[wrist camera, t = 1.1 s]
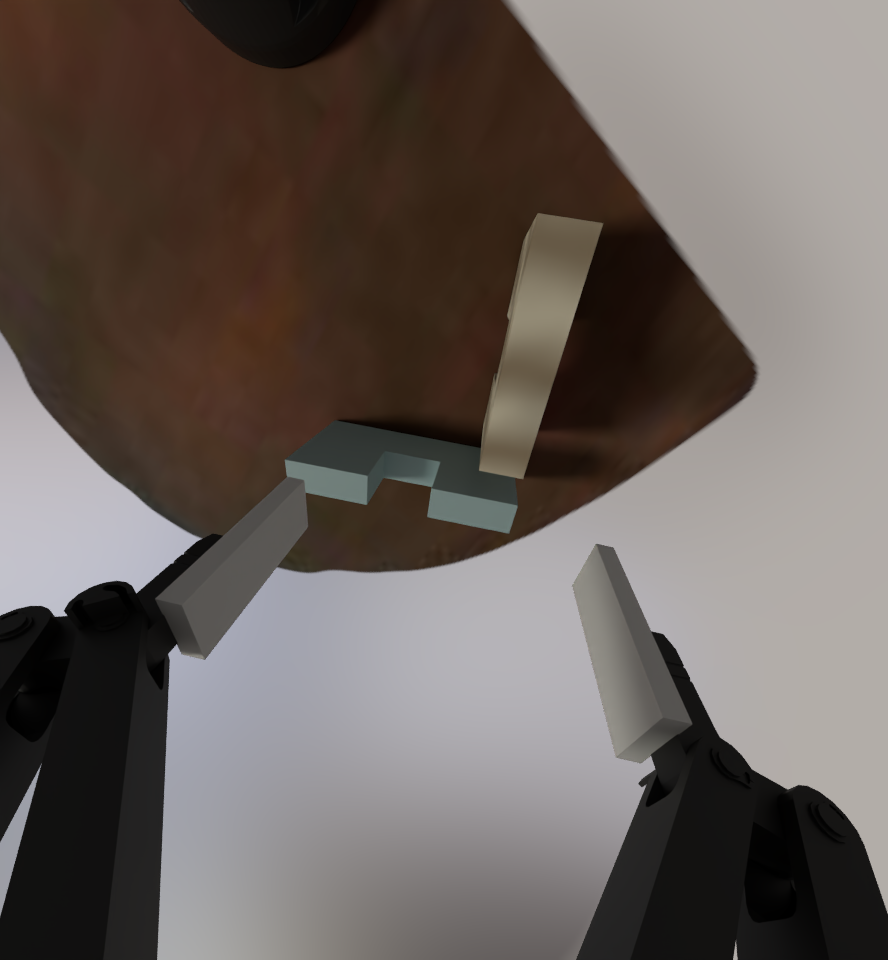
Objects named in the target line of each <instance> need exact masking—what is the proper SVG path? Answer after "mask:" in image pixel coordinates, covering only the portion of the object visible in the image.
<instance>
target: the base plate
mask: <svg viewBox="0 0 888 960" xmlns="http://www.w3.org/2000/svg"><path fill="white" fill-rule="evenodd" d="M480 454H481V448H478V447H473V446H467V445H462V444H457V443H452V442H446V441H441V440H436V439H431V438H425V437H420V436H415V435H410V434H404V433H399V432H394V431H389V430H383V429H378V428H373V427H368V426H362V425H357V424H352V423H347V422H341V421H336V420H335V421H334V422H332V423H331V424H330V425H328V426H327V427H326V428H325V429H323V430H322V431H321V432H320V433H318V434H317V435H316V436H314V437H313V438H312V439H311V440H309V441H308V442H307V443H306V444H304V445H303V446H302V447H300V448H299V449H298V450H297V451H295V452H294V453H293V454H292V455H290V456H289V457H288V458H286V459H285V464H286V472H287V477H292V478H297V479H301V480H304V482H305V492H306V493H311V494H316V495H321V496H326V497H331V498H336V499H341V500H345V501H350V502H355V503H360V504H365V505H367V504H368V502H369V500H370V499H371V497H372V496H373V494H374V492H375V491H376V489H377V487H378V486H379V484H380V482H381V481H382V479H383V478H389V479H394V480H399V481H404V482H409V483H414V484H419V485H424V486H430V487H432V489H431V496H430V503H429V510H428V516H427V517H430V518H435V519H440V520H445V521H450V522H455V523H459V524H464V525H469V526H474V527H479V528H484V529H489V530H494V531H499V532H504V533H509V532H510V529H511V525H512V522H513V519H514V516H515V513H516V510H517V507H518V502H517V493H516V484H515V477H509V476H504V475H499V474H494V473H489V472H484V471H479V465H480Z"/></svg>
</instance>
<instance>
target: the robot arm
mask: <svg viewBox="0 0 888 960" xmlns="http://www.w3.org/2000/svg"><path fill="white" fill-rule="evenodd" d="M179 1H180V2H181V3H182V4H183V5H184V6H185V8H186V9H187V10H188V11H189V12H190V13H191V14H192V15H193V16H194V17H195V18H196V19H197V20H198V21H199V22H200V23H201V24H202V25H203V26H204V27H205V28H206V29H208V30H209V31H210V32H211V33H212V34H213V35H214V36H215V37H216V38H217V39H218V40H220V41H221V42H222V43H223V44H224V45H225V46H227V47H228V48H229V49H230V50H232V51H233V52H235V53H236V54H238V55H239V56H241V57H243V58H245V59H247V60H249V61H251V62H253V63H256V64H259V65H262V66H267V67H275V68H284V67H291V66H295V65H299V64H302V63H304V62H306V61H308V60H310V59H312V58H314V57H315V56H316V55H318V54H319V53H321V52H322V51H323V50H324V49H325V48H326V47H327V46H328V45H329V44H330V43H331V42H332V41H333V40H334V39H335V37H336V36H337V35H338V33H339V32H340V31H341V29H342V28H343V26H344V25H345V23H346V21H347V19H348V17H349V16H350V14H351V12H352V10H353V7H354V5H355V3H356V1H357V0H179ZM307 528H308V520H307V507H306V494H305V482H304V480H301V479H297V478H292V477H287V478H286V479H285V480H284V481H282V482H281V483H280V484H279V485H278V486H277V487H276V488H275V489H274V490H273V491H272V492H271V493H269V494H268V495H267V496H266V497H265V498H264V499H263V500H262V501H261V502H260V503H259V504H257V505H256V506H255V507H254V508H253V509H252V510H251V511H250V512H249V513H248V514H247V515H246V516H244V517H243V518H242V519H241V520H240V521H239V522H238V523H237V524H236V525H235V526H234V527H233V528H231V529H230V530H229V531H228V532H227V533H226V534H225V535H224V536H222V535H217V534H211V535H209V536H207V537H205V538H203V539H201V540H199V541H197V542H196V543H195V544H194V545H192V546H191V547H190V548H189V549H188V550H187V551H185V552H184V555H181V556H180V557H178V558H177V559H176V560H175V561H174V563H173V564H170V565H169V566H168V567H167V568H166V569H165V570H163V571H162V572H161V573H160V574H159V575H157V576H156V577H155V578H154V579H153V580H152V581H150V583H148V584H147V585H146V586H145V587H144V588H142V589H141V590H140V591H139V592H138V593H136V592H135V591H134V589H133V587H132V586H131V585H130V584H128V583H127V582H121V581H113V582H106V583H102V584H99V585H96V586H93V587H91V588H89V589H87V590H85V591H83V592H82V593H80V594H78V595H77V596H76V597H75V598H74V599H72V600H71V601H70V602H69V603H68V605H67V607H66V608H65V610H64V611H65V613H66V614H67V616H63V617H55V616H54V615H53V614H52V612H51V611H50V610H49V609H48V608H45V607H43V606H29V607H24V608H20V609H16V610H13V611H11V612H8V613H6V614H3V615H1V616H0V841H1V840H2V838H3V836H4V834H5V832H6V830H7V828H8V826H9V824H10V822H11V821H12V819H13V817H14V815H15V813H16V811H17V809H18V807H19V805H20V803H21V802H22V800H23V797H24V796H25V794H26V792H27V790H28V788H29V786H30V784H31V783H32V781H33V779H34V777H35V775H36V773H37V771H38V769H39V767H40V765H41V764H42V765H41V768H40V772H39V776H38V780H37V783H36V787H35V791H34V795H33V798H32V802H31V805H30V809H29V813H28V817H27V820H26V824H25V828H24V831H23V835H22V839H21V842H20V846H19V850H18V854H17V857H16V861H15V864H14V868H13V872H12V876H11V879H10V883H9V887H8V890H7V894H6V898H5V902H4V905H3V909H2V912H1V916H0V960H157V948H158V924H159V923H158V922H159V900H160V877H161V875H160V874H161V852H162V829H163V804H164V781H165V756H166V734H167V732H166V731H167V710H168V686H169V685H168V684H169V662H170V660H169V656H168V653H169V652H170V651H171V650H172V649H173V648H174V646H175V645H176V644H177V645H178V647H179V649H180V652H181V654H183V655H187V656H191V657H195V658H200V659H204V660H205V659H206V658H207V656H208V655H209V654H210V653H211V651H212V650H213V649H214V647H215V646H216V645H217V643H218V642H219V641H220V640H221V638H222V637H223V636H224V634H225V633H226V632H227V630H228V629H229V628H230V627H231V625H232V624H233V623H234V621H235V620H236V619H237V617H238V616H239V615H240V614H241V613H242V611H243V610H244V609H245V607H246V606H247V605H248V603H249V602H250V601H251V600H252V598H253V597H254V596H255V595H256V593H257V592H258V591H259V589H260V588H261V586H263V584H264V583H265V581H266V580H267V579H268V578H269V577H270V575H271V574H272V573H273V571H274V570H275V569H276V567H277V566H278V565H279V564H280V562H281V561H282V560H283V558H284V557H285V556H286V555H287V553H288V552H289V551H290V549H291V548H292V547H293V546H294V544H295V543H296V542H297V540H298V539H299V538H300V537H301V535H302V534H303V533H304V531H305V530H306V529H307ZM572 586H573V590H574V594H575V598H576V602H577V606H578V610H579V614H580V618H581V622H582V626H583V630H584V634H585V638H586V642H587V645H588V649H589V653H590V657H591V661H592V665H593V669H594V673H595V677H596V681H597V685H598V689H599V693H600V697H601V700H602V705H603V709H604V712H605V716H606V720H607V724H608V728H609V732H610V736H611V740H612V744H613V748H614V752H615V755H616V757H617V758H620V759H624V760H629V761H633V762H637V763H642V762H643V761H645V760H646V759H647V758H648V757H650V756H651V757H652V760H653V762H654V766H655V770H654V771H653V772H651V773H650V774H648V775H647V776H645V777H644V778H643V779H642V780H641V781H640V782H639V785H640V786H641V787H643V786H644V785H646V784H647V785H646V788H645V790H644V793H643V795H642V798H641V800H640V803H639V805H638V808H637V810H636V813H635V815H634V817H633V820H632V822H631V825H630V827H629V830H628V832H627V835H626V837H625V840H624V842H623V845H622V848H621V850H620V852H619V855H618V857H617V860H616V862H615V865H614V867H613V870H612V872H611V875H610V877H609V879H608V882H607V884H606V887H605V889H604V892H603V894H602V897H601V899H600V902H599V904H598V907H597V909H596V912H595V914H594V917H593V919H592V922H591V924H590V927H589V929H588V931H587V934H586V936H585V939H584V941H583V944H582V946H581V949H580V951H579V954H578V956H577V959H576V960H733V956H734V949H735V942H736V944H737V957H738V960H888V914H887V911H886V908H885V905H884V902H883V899H882V896H881V893H880V890H879V887H878V884H877V881H876V878H875V875H874V872H873V870H872V867H871V864H870V861H869V858H868V855H867V852H866V849H865V846H864V844H863V842H862V840H861V838H860V836H859V834H858V832H857V830H856V829H855V827H854V826H853V825H852V823H851V822H850V821H849V819H848V818H847V816H846V815H845V814H844V813H843V812H842V811H841V810H840V809H839V808H838V807H837V806H836V805H835V804H834V803H833V802H832V801H831V800H829V799H828V798H826V797H825V796H824V795H823V794H821V793H820V792H819V791H816V790H815V789H812V788H810V787H808V786H802V785H798V786H796V787H793V788H791V789H789V790H787V789H785V788H783V787H782V786H780V785H778V784H777V783H775V782H773V781H771V780H769V779H768V778H766V777H764V776H762V775H760V774H759V773H757V772H755V771H754V770H752V769H751V768H750V766H749V765H748V763H747V762H746V761H745V759H744V758H743V757H742V755H741V754H740V753H739V752H738V751H737V750H736V749H735V748H734V747H733V746H732V745H730V744H729V743H727V742H726V741H724V740H723V739H721V738H720V737H719V735H718V734H717V732H716V730H715V728H714V726H713V724H712V722H711V720H710V718H709V716H708V714H707V712H706V710H705V708H704V706H703V704H702V701H701V700H700V698H699V695H698V693H697V691H696V689H695V687H694V685H693V683H692V682H690V677H689V675H688V673H687V671H686V669H685V668H684V667H683V666H684V665H683V663H682V661H681V659H680V657H679V655H678V653H677V651H676V649H675V648H674V647H673V645H672V644H671V643H670V642H669V641H668V640H667V638H666V637H665V636H664V635H663V634H660V633H656V632H651V630H650V628H649V626H648V624H647V621H646V619H645V617H644V615H643V612H642V610H641V608H640V606H639V603H638V601H637V599H636V597H635V595H634V592H633V590H632V588H631V586H630V583H629V581H628V579H627V577H626V574H625V572H624V570H623V568H622V566H621V564H620V561H619V559H618V557H617V554H616V552H615V550H614V548H613V547H608V546H604V545H599V544H596V545H595V546H594V548H593V550H592V552H591V554H590V555H589V557H588V559H587V561H586V562H585V564H584V566H583V568H582V569H581V571H580V573H579V575H578V576H577V578H576V580H575V582H574V584H573V585H572Z"/></svg>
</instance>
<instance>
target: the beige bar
mask: <svg viewBox="0 0 888 960" xmlns="http://www.w3.org/2000/svg"><path fill="white" fill-rule="evenodd" d="M602 226H603V223H597V222H591V221H585V220H578V219H572V218H565V217H559V216H552V215H546V214H540V213H538V214H537V216H536V218H535V220H534V222H533V223H532V225H531V227H530V229H529V231H528V233H527V235H526V237H525V239H524V242H523V246H522V251H521V255H520V260H519V264H518V269H517V274H516V278H515V283H514V287H513V292H512V296H511V301H510V306H509V310H508V315H507V317H508V318H509V325H508V329H507V334H506V338H505V343H504V347H503V352H502V356H501V361H500V365H499V370H498V374H496V373H495V374H494V379H493V383H492V388H491V392H490V397H489V402H488V406H487V411H486V415H485V420H484V424H483V433H482V443H481V454H480V465H479V471H484V472H489V473H494V474H499V475H504V476H509V477H515V478H520V479H523V477H524V474H525V471H526V468H527V465H528V461H529V458H530V455H531V452H532V449H533V445H534V442H535V439H536V436H537V433H538V430H539V426H540V423H541V420H542V417H543V414H544V410H545V407H546V404H547V401H548V398H549V394H550V391H551V388H552V385H553V382H554V379H555V375H556V372H557V369H558V366H559V363H560V359H561V356H562V353H563V350H564V347H565V344H566V340H567V337H568V334H569V331H570V328H571V324H572V321H573V318H574V315H575V312H576V308H577V305H578V302H579V299H580V296H581V293H582V289H583V286H584V283H585V280H586V277H587V273H588V270H589V267H590V264H591V261H592V258H593V254H594V251H595V248H596V245H597V242H598V238H599V235H600V232H601V229H602Z"/></svg>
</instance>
